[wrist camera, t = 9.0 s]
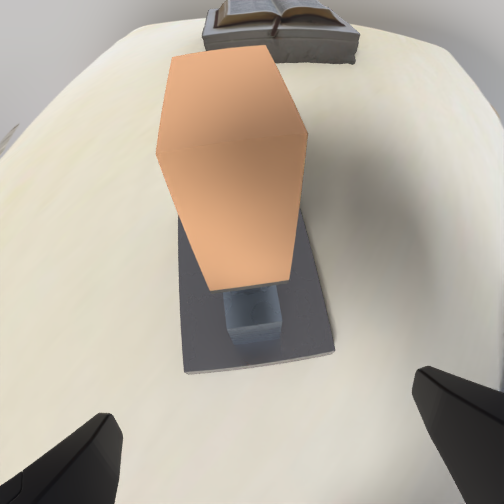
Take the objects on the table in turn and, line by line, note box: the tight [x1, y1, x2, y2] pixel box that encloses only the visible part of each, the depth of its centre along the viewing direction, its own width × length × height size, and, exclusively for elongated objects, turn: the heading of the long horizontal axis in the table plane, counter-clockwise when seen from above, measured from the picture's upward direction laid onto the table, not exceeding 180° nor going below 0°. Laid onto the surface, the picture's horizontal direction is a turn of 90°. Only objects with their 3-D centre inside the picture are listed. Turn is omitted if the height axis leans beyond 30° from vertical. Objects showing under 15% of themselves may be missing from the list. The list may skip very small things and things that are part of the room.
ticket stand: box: [178, 206, 335, 374], centre depth 18 cm, size 14×10×12 cm
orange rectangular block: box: [156, 45, 308, 294], centre depth 10 cm, size 5×3×7 cm, turn 8°
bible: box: [202, 0, 360, 64], centre depth 42 cm, size 23×27×10 cm
